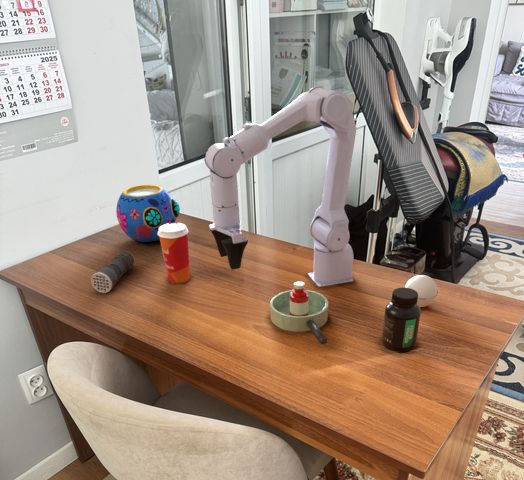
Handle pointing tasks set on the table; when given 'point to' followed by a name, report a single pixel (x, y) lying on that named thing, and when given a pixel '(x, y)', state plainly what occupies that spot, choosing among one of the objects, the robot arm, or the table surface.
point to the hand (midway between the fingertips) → (230, 261)
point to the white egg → (423, 289)
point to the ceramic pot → (145, 211)
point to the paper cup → (175, 251)
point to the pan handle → (316, 332)
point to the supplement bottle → (401, 321)
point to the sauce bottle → (299, 300)
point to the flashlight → (112, 272)
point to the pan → (298, 323)
